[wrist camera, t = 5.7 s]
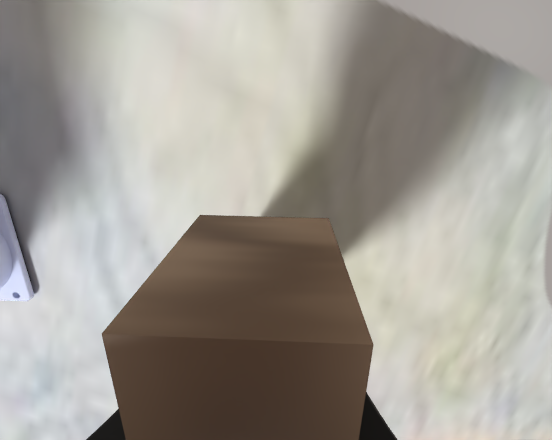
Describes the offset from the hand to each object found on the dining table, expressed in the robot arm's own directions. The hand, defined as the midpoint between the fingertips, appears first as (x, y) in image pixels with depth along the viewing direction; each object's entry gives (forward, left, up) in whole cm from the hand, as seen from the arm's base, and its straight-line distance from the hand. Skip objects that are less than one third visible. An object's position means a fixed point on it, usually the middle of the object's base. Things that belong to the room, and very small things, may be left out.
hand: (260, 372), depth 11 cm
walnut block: (0, 0, -2) cm, 2 cm away
